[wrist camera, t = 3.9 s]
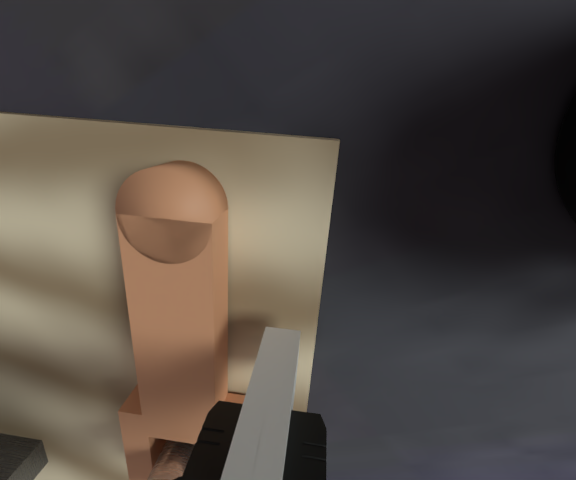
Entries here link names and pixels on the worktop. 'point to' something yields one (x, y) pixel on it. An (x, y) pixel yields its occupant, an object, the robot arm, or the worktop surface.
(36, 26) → the worktop surface
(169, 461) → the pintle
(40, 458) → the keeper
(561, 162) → the mug
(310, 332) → the board
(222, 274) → the link
